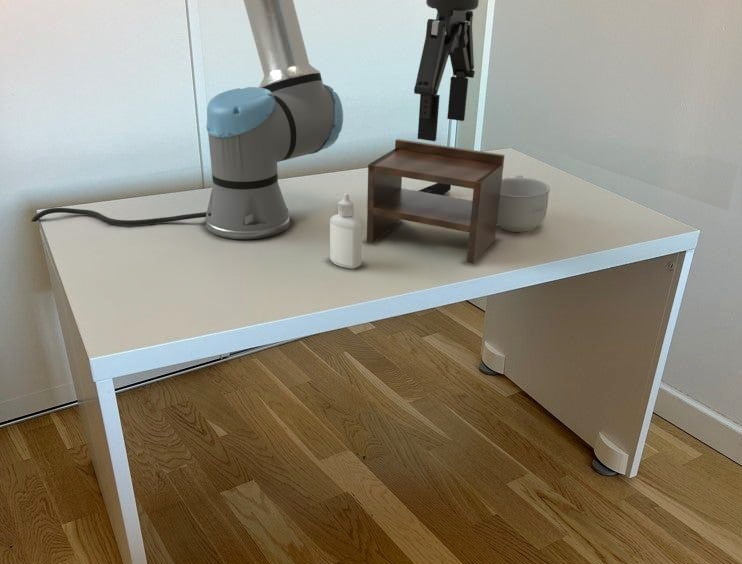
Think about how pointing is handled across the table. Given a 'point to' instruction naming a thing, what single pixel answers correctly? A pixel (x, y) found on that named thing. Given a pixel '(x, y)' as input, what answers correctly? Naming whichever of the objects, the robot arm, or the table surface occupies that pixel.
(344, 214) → the eye dropper bottle
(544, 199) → the teacup
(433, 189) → the electric trimmer
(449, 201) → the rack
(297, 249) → the table surface
